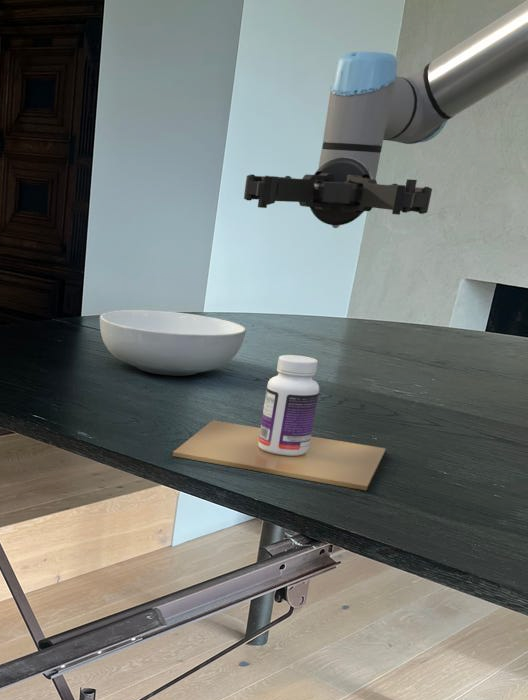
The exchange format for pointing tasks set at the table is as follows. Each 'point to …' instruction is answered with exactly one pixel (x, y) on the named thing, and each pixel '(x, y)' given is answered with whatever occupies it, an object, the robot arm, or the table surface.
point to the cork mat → (316, 465)
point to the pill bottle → (290, 407)
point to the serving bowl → (170, 340)
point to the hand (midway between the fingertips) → (331, 195)
